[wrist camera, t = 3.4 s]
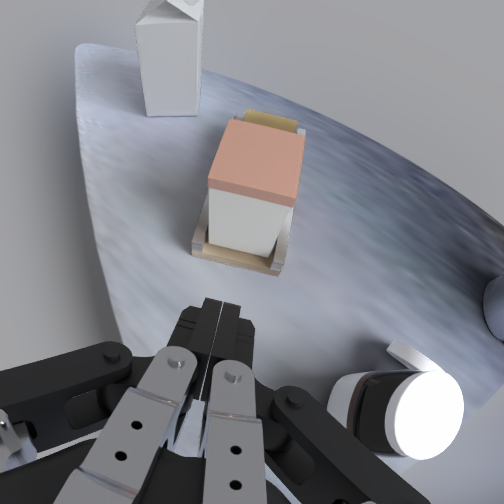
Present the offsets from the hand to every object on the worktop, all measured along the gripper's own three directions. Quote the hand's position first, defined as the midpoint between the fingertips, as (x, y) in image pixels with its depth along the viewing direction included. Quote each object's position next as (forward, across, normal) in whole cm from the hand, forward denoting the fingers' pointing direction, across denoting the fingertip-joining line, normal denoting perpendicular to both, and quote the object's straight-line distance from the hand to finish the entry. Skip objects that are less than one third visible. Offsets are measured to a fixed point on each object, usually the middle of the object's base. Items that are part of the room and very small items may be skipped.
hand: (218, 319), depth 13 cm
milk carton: (+35, +14, -10) cm, 39 cm away
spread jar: (+12, -17, +13) cm, 25 cm away
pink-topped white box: (+20, 0, +2) cm, 20 cm away
